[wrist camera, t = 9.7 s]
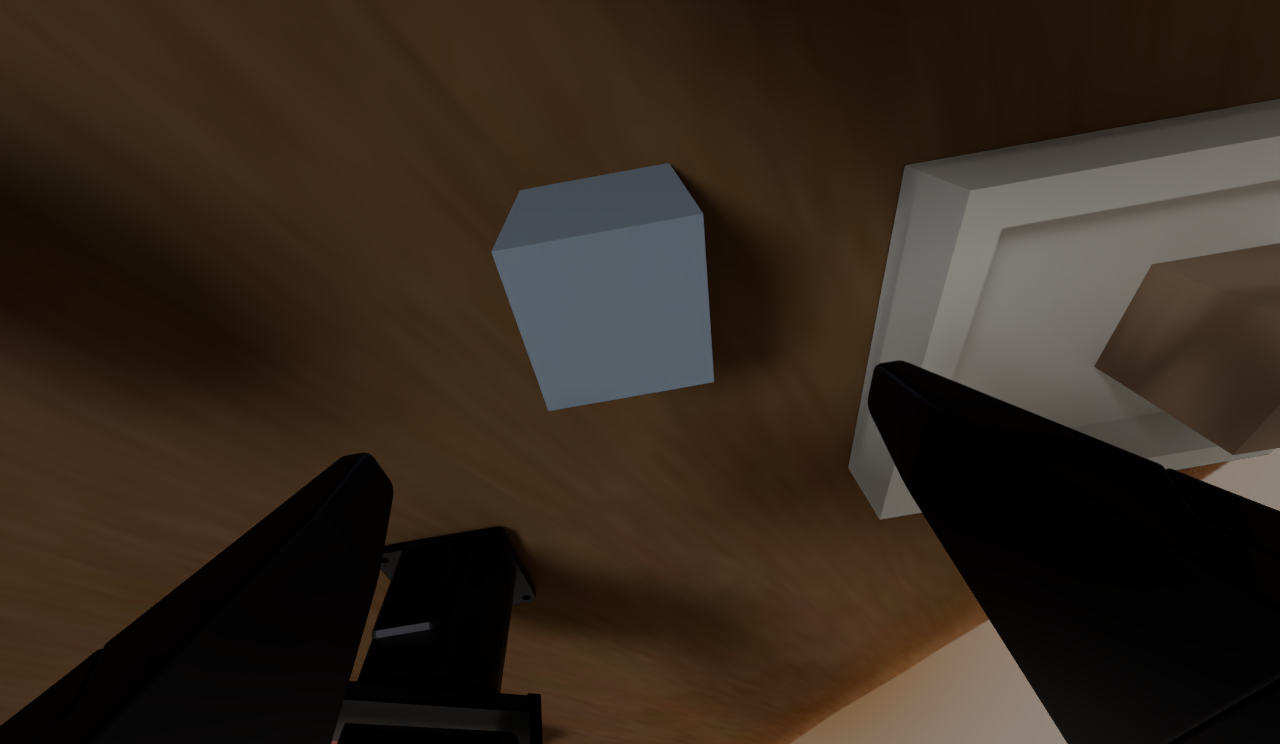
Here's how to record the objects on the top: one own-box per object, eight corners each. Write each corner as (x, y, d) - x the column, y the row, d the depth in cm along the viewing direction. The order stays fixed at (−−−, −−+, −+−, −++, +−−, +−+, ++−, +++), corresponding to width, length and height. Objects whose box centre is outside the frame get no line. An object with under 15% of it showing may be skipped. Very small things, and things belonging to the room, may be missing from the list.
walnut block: (1202, 348, 19) (1372, 432, 15) (1093, 366, 19) (1233, 455, 15) (1278, 243, 16) (1511, 310, 12) (1152, 264, 16) (1340, 338, 12)
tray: (1194, 409, 22) (1268, 454, 20) (848, 468, 22) (879, 519, 20) (1459, 66, 14) (1642, 71, 11) (904, 165, 14) (970, 190, 12)
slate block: (682, 297, 16) (714, 382, 12) (558, 319, 16) (548, 411, 12) (668, 162, 13) (703, 213, 9) (520, 189, 14) (491, 251, 10)
